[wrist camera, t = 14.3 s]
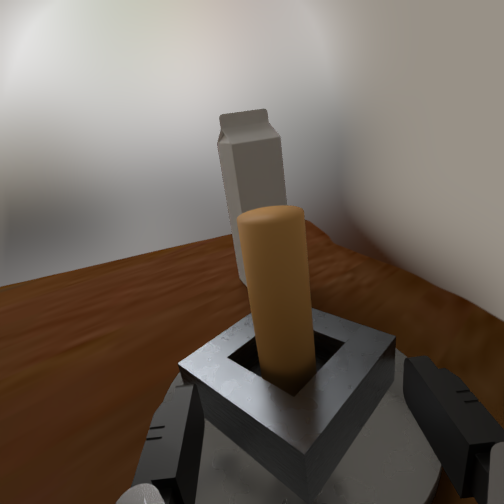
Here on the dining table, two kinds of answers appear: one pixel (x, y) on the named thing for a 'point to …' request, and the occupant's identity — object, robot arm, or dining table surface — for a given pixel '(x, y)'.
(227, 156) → the milk
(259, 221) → the pin
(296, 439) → the square frame on disc
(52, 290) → the dining table surface
